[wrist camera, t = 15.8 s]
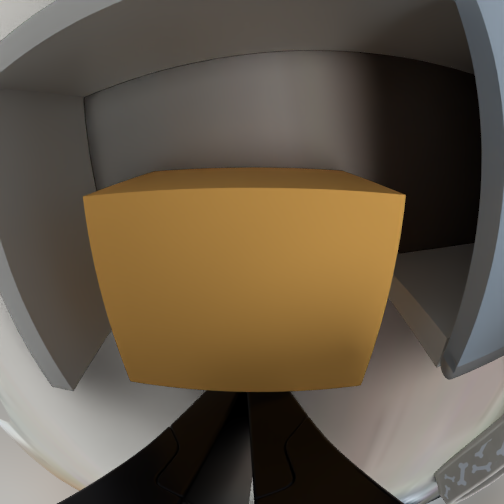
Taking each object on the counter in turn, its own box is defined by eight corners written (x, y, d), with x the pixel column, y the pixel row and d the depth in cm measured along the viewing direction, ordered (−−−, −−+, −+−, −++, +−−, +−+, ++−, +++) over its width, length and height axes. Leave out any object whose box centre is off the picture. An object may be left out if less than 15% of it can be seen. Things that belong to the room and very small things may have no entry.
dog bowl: (437, 485, 21) (445, 512, 16) (426, 463, 16) (441, 506, 11) (529, 419, 17) (542, 441, 12) (556, 357, 12) (581, 388, 7)
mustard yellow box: (328, 302, 8) (360, 385, 5) (168, 301, 9) (130, 381, 5) (341, 170, 7) (406, 195, 4) (154, 171, 7) (82, 196, 4)
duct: (560, 242, 7) (605, 272, 4) (109, 305, 9) (51, 386, 5) (562, 96, 4) (614, 104, 1) (62, 76, 6) (-32, 62, 2)
